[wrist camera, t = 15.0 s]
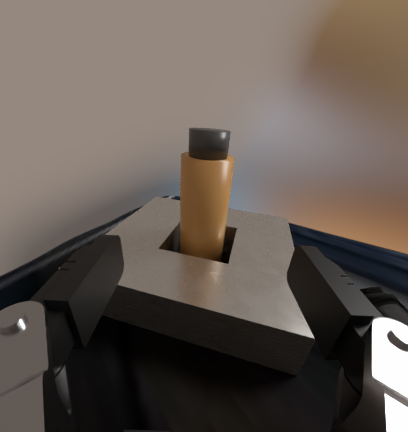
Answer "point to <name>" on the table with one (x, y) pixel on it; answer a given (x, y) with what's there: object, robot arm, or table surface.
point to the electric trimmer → (386, 304)
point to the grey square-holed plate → (213, 287)
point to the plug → (205, 193)
